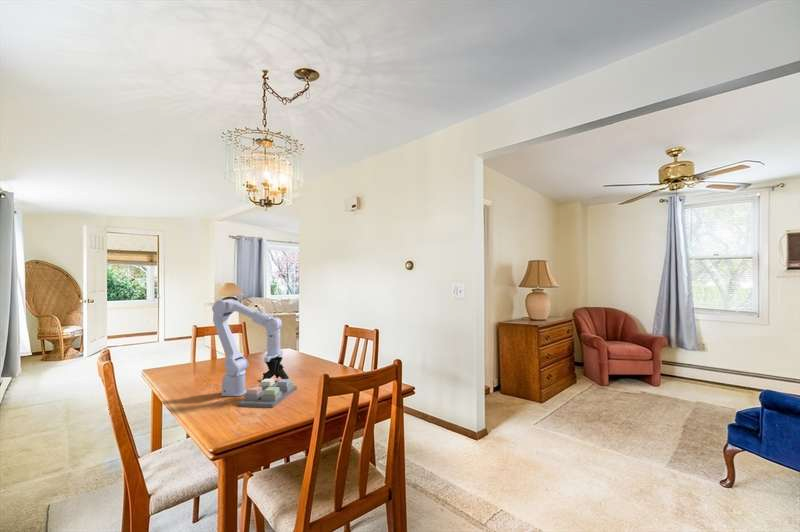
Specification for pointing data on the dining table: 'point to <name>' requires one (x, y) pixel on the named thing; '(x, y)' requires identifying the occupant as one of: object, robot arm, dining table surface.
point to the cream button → (267, 382)
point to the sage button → (271, 391)
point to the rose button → (254, 390)
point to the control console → (267, 397)
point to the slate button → (284, 382)
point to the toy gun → (280, 374)
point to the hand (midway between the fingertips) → (273, 374)
